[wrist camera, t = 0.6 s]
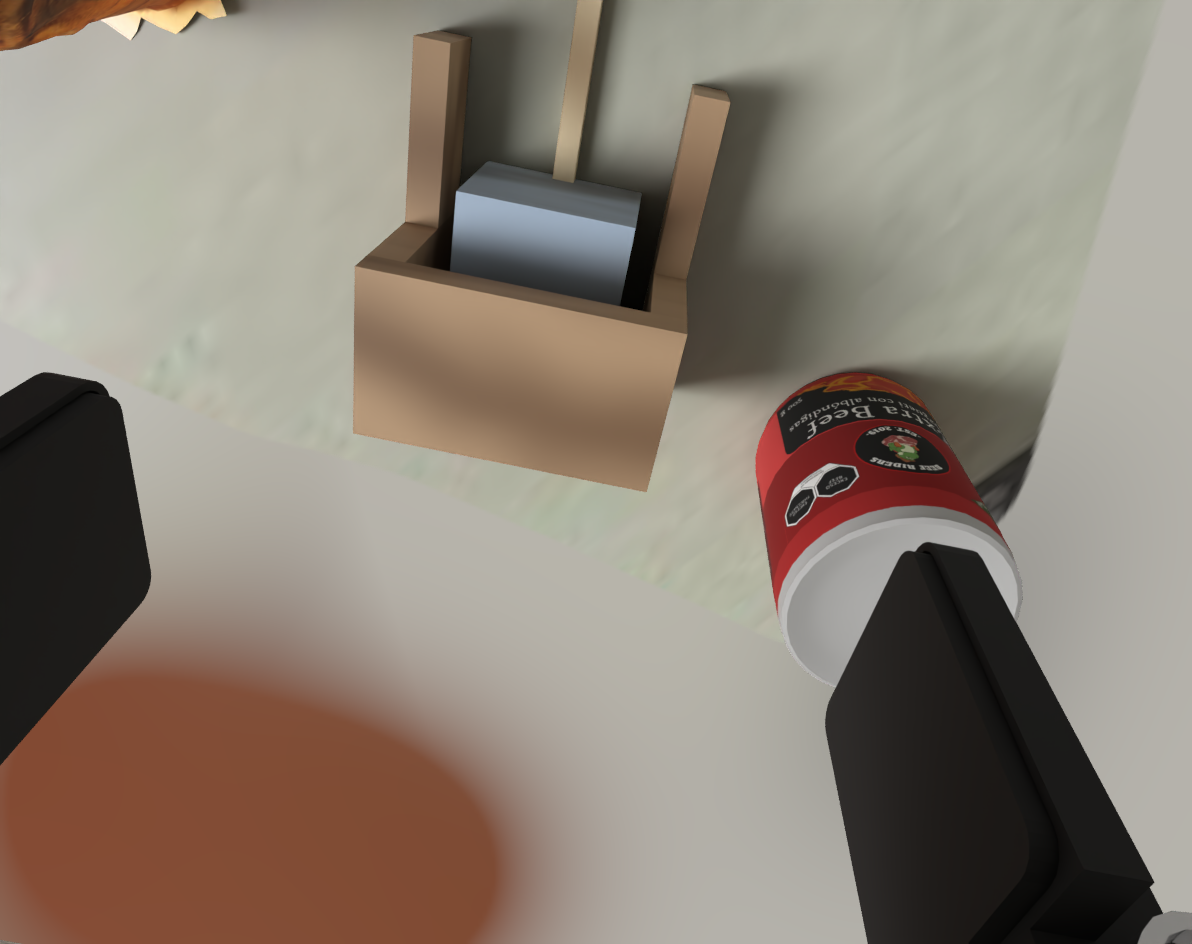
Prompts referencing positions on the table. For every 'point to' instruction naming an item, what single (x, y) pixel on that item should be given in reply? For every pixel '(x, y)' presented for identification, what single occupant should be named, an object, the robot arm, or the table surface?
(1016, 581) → the canned food
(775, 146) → the table surface
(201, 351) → the table surface
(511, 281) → the knob-handled block
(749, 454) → the table surface
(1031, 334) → the table surface
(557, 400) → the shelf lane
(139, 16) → the vessel
